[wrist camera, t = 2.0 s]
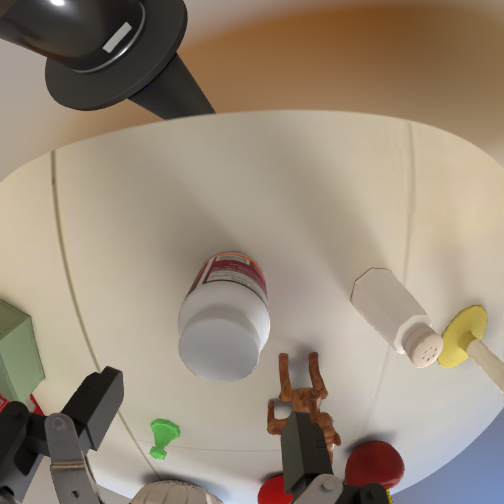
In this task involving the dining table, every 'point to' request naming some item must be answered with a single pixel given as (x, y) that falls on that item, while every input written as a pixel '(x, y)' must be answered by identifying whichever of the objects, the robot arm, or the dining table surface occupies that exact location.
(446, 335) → the candle
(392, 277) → the pepper shaker
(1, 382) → the bread bin lid
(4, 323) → the bin
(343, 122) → the dining table surface
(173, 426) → the game piece
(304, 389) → the cat figurine
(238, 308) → the pill bottle
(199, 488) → the vase
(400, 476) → the apple
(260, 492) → the fruit
